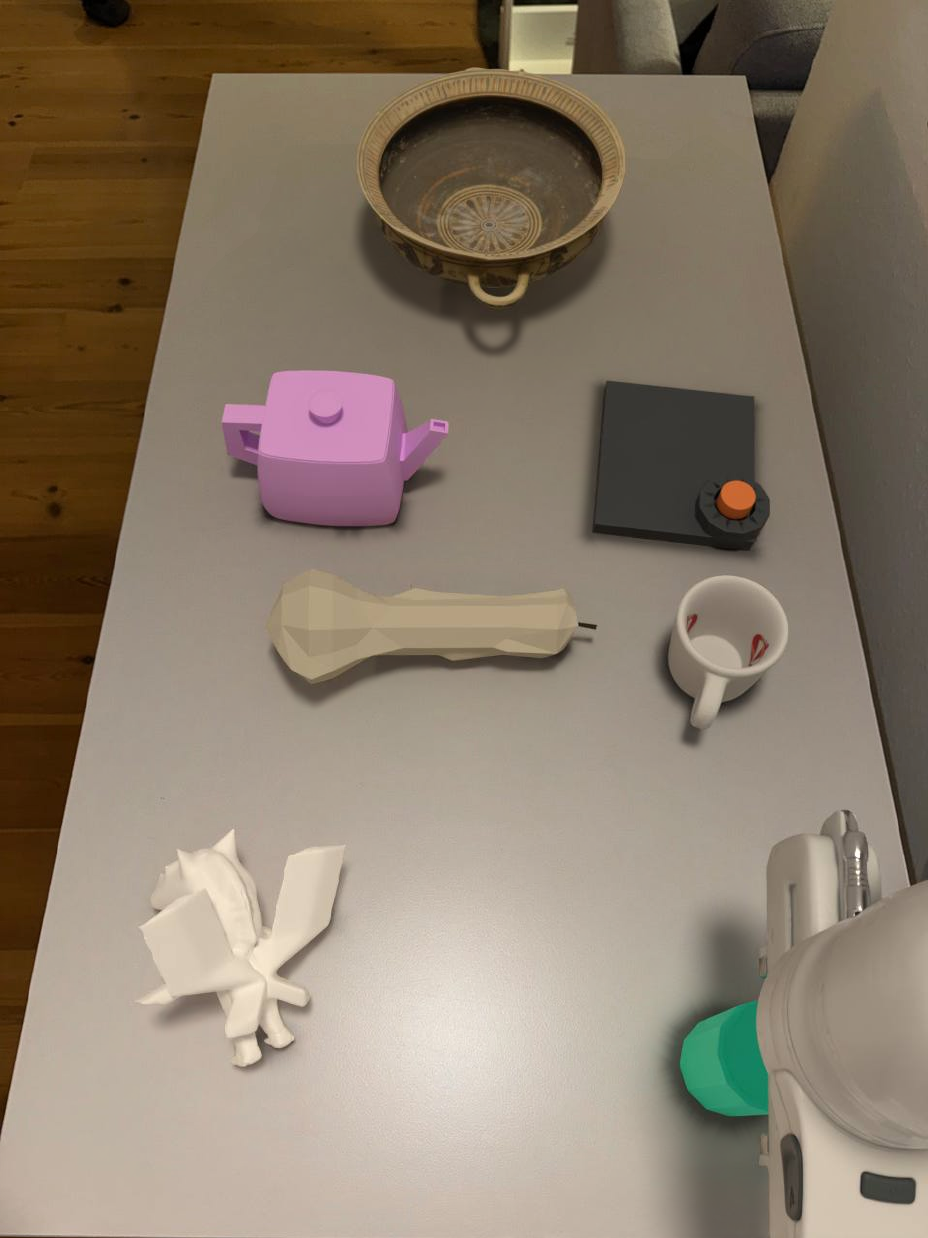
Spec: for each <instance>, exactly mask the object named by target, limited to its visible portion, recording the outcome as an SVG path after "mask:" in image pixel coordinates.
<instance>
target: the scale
mask: <svg viewBox="0 0 928 1238" xmlns="http://www.w3.org/2000/svg"><path fill="white" fill-rule="evenodd" d="M603 392H604V393H603V405H602V415H601V426H600V428H601V429H600V439H599V440H600V441H599V442H600V443H599V453H598V464H597V476H596V488H595V498H594V499H595V500H594V511H593V523H592V524H593V525H592V533H595V534H602V535H603V534H604V535H613V536H622V537H631V538H638V539H646V540H647V539H648V540H656V541H664V542H665V541H666V542H672V543H683V544H690V545H699V546H707V547H717V548H724V549H732V550H733V549H734V550H740V551H741V550H742V551H751V549H752V547H753V545H754V543H755V538H757V536H758V535H759V533H760V532H761V531H762V530H763V528H764V527H765V526H766V523H767V522H768V520H769V518H770V515H771V500H770V497H769V496H768V493H766V491H765V489H764V488H763V486H762V485H761V484H760V483H758V482H756V481H755V396H753V395H752V396H751V395H744V394H735V393H727V392H725V393H724V392H715V391H708V390H700V389H699V390H698V389H689V388H680V387H671V386H661V385H653V384H651V385H650V384H642V383H636V382H635V383H633V382H625V381H615V380H606V381H605V385H604V391H603ZM730 481H742V482H745V483H747V484H748V485H750V486H751V487H752V488H753V490H754V492H755V495H756V500H755V503H754V505H753V507H752V509H751V511H750V513H749V514H748V515H747V516H746V517H744V518H742V519H730V518H727V517H725V516H724V515H723V514H721V512H720V511H719V510H718V507H717V499H718V496H719V494H720V492H721V489H722V487H723V486H724V485H725V484H726V483H728V482H730Z"/></svg>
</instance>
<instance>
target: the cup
mask: <svg viewBox="0 0 928 1238" xmlns="http://www.w3.org/2000/svg"><path fill="white" fill-rule="evenodd" d="M789 631H790V630H789V622H788V616H787V614H786V612H785V610H784V608H783V606H782V605H781V603H780V601H778V599H777V598H776V596H774V594H772V592H770V591H769V590H768V589H767V588H766V587H764V586H762V585H761V584H759V583H758V582H756V581H753V580H751V579H748V578H746V577H742V576H738V575H722V574H721V575H716V576H711V577H708V578H705V579H703V580H701V581H699V582H697V583H695V584H694V585H692V587H690V588H689V589H688V590H687V591H686V592H685V594H684V595H683V596H682V598H681V600H680V601H679V604H678V606H677V609H676V613H675V618H674V622H673V628H672V631H671V637H670V642H669V647H668V652H667V654H668V655H667V661H668V669H669V671H670V674H671V676H672V678H673V680H674V682H675V683H676V684H677V686H678V687H679V688H680V690H682V691H683V692H684V693H685V694H686V695H688V696H690V697H692V698H693V699H694V700H693V701H694V702H693V705H692V709H691V713H690V719H689V721H690V725H691V726H692V727H695V728H697V729H699V730H707V729H709V728H710V727H711V726H712V724H714V721H715V719H716V717H717V715H718V713H719V710H720V707H721V704H722V703H725V702H728V701H733V700H734V699H736V698H738V697H740V696H741V695H743V694H744V693H746V692H747V691H748V690H749V689H750V688H751V687H752V686H753V685H755V683H757V682H758V681H759V680H760V679H761V678H762V677H763V676H764V675H765V674H766V673H767V672H768V671H769V670H770V669H771V668H773V666H774V665H776V664H777V663H778V661H779V660H780V659H781V657H782V656H783V655H784V653H785V650H786V648H787V645H788V642H789V636H790V632H789Z"/></svg>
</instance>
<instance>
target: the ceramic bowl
mask: <svg viewBox="0 0 928 1238" xmlns="http://www.w3.org/2000/svg"><path fill="white" fill-rule="evenodd" d="M626 158H627V157H626V150H625V146H624V142H623V139H622V137H621V135H620V132H619V131H618V128H617V127H616V125H615V123H613V121H612V119H611V118H610V117H609V115H608V114H607V113H606V112H605V111H604V109H602V108H601V106H599V105H598V104H597V103H596V102H595V101H594V100H592V99H591V98H589V97H588V96H586V95H585V94H584V93H583V92H580V91H579V90H577V89H575V88H574V87H572V86H570V85H568V84H565V83H562V82H561V81H558V80H555V79H552V78H550V77H547V76H544V75H540V74H537V73H536V74H535V73H531V72H527V71H522V70H508V69H505V68H491V69H490V68H483V67H469V68H466V69H464V70H460V71H454V72H450V73H446V74H445V75H443V74H442V75H439V76H435V77H431V78H430V79H426V80H425V81H424V82H419V83H417V84H415V85H413V86H411V87H409V88H407V89H406V90H404V91H402V92H400V93H398V94H397V95H396V96H394V97H392V98H391V99H390V100H389V101H387V102H386V103H385V104H384V105H383V106H382V107H381V108H380V109H379V110H378V111H377V112H376V113H375V114H374V116H373V117H372V118H371V119H370V121H369V122H368V124H367V125H366V126H365V129H364V131H363V132H362V134H361V137H360V139H359V142H358V146H357V150H356V164H355V165H356V174H357V181H358V183H359V186H360V188H361V191H362V194H363V196H364V199H366V201H367V202H368V204H369V205H370V207H371V209H372V210H373V212H374V216H375V219H376V221H377V224H378V227H379V228H380V230H381V233H382V234H383V236H384V237H385V238H386V240H387V241H388V242H389V244H390V245H391V246H392V248H394V250H395V251H396V252H397V253H398V254H399V255H400V256H402V257H403V258H404V259H405V260H406V261H408V262H409V263H410V264H411V265H413V266H414V267H416V268H417V269H419V270H421V271H422V272H425V273H426V274H429V276H433V277H435V278H438V279H441V280H443V281H446V282H450V283H453V284H457V285H461V286H467V287H468V288H469V291H470V293H471V294H472V297H474V298H475V300H477V301H478V303H481V304H482V305H484V306H486V307H487V308H495V309H507V308H510V307H513V306H515V305H517V304H518V303H520V302H521V301H522V300H523V298H524V297H525V295H526V293H527V291H528V287H529V284H530V283H533V282H536V281H539V280H541V279H544V278H547V277H549V276H552V275H553V274H555V273H557V272H559V271H560V270H562V269H564V268H566V267H567V266H568V265H570V264H571V263H573V262H574V261H576V260H577V259H578V258H579V257H580V256H581V255H582V254H583V253H584V252H585V251H586V250H587V249H588V248H589V246H590V245H591V244H592V243H593V241H594V240H595V239H596V237H597V235H598V234H599V232H600V230H601V229H602V226H603V224H604V220H605V218H606V216H607V214H608V213H609V212H610V211H611V210H612V208H613V206H614V204H615V202H616V200H617V199H618V196H619V194H620V192H621V190H622V186H623V183H624V180H625V177H626V168H627V159H626ZM506 287H507V288H509V287H510V288H511V287H514V289H513V290H512V291H511V292H510V293H509V294H507V295H503V296H494V295H491V294H488V293H487V292H486V291H484V290H483V288H494V289H496V288H506Z"/></svg>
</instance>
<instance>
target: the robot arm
mask: <svg viewBox="0 0 928 1238" xmlns="http://www.w3.org/2000/svg"><path fill="white" fill-rule="evenodd" d="M879 862H880V861H879V858H878V855H877V851H876V850H875V848H874V847H873V846H872V844H870V843H869V842H868V840H867V837H866V834H865V832H863V831H859V825H858V817H857V814H856V813H855V812H852V811H850V810H849V809H842V810H841V809H840V810H836V811H834V812H833V813H832V814H831V815H829V816H828V817H827V818H826V819H825V820H824V822H823V824H822V826H821V828H820V832H819V834H815V833H807V832H805V833H804V832H803V833H798V834H794V835H791V836H789V837H786V838H784V839H781V840H780V841H779V842H777V843H776V844H774V845H773V846H772V847H771V849H770V853H769V856H768V860H767V863H766V871H765V872H766V873H765V874H766V875H765V876H766V878H765V879H766V939H765V946H763V947H762V948H760V949H759V950H758V977H759V978H760V979H764V981H763V985H762V987H761V990H760V992H759V997H758V999H757V1000H758V1006H757V1017H756V1027H757V1038H758V1044H759V1048H760V1053H761V1056H762V1059H763V1062H764V1065H765V1067H766V1070H767V1072H768V1111H769V1114H768V1134H765V1133H763V1134H761V1133H760V1134H759V1163H758V1164H759V1166H763V1167H766V1169H767V1172H768V1202H769V1203H768V1207H769V1208H768V1211H769V1213H768V1215H769V1216H768V1217H769V1219H768V1220H769V1221H768V1222H769V1227H768V1228H769V1229H768V1230H769V1235H768V1236H769V1237H768V1238H928V858H927V859H926V860H925V862H924V866H923V868H922V871H921V874H920V878H919V881H918V882H917V883H915V884H912V885H910V886H907V887H904V888H902V889H900V890H898V891H895V892H893V893H891V894H889V895H886V896H884V897H883V892H882V879H881V878H882V876H881V868H880V863H879Z"/></svg>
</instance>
